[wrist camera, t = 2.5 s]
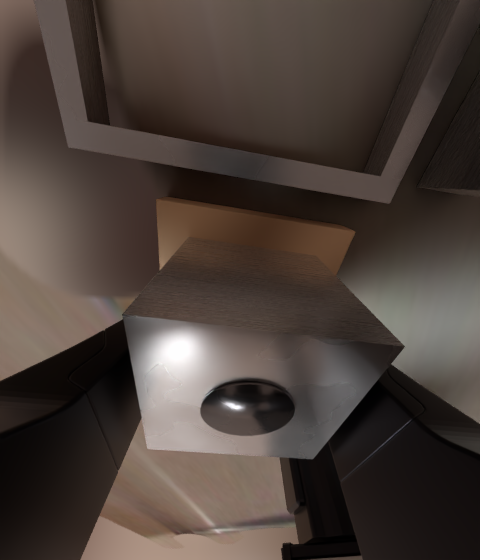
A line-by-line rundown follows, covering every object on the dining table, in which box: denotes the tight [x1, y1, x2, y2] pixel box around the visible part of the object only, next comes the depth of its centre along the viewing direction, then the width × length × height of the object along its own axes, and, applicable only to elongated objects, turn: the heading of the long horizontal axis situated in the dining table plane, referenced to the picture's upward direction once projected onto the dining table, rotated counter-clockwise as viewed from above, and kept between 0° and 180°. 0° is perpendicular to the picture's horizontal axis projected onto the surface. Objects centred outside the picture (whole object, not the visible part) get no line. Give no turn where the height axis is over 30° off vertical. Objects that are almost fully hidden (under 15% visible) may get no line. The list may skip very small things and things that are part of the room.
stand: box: [156, 197, 355, 276], centre depth 10 cm, size 8×8×1 cm
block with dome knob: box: [122, 237, 405, 459], centre depth 7 cm, size 6×6×5 cm
